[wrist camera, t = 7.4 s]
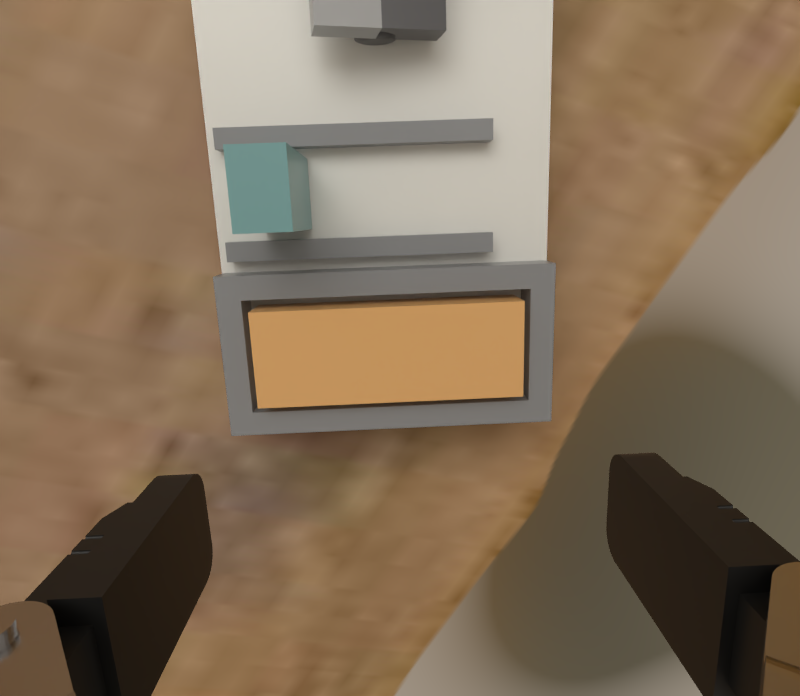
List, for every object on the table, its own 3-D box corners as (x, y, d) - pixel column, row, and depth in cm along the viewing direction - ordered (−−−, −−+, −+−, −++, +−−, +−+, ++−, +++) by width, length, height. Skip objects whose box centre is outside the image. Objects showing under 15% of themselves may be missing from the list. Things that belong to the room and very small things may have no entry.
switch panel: (534, -52, 23) (570, -116, 19) (526, 390, 28) (553, 423, 24) (207, -43, 23) (165, -106, 19) (254, 402, 28) (229, 438, 23)
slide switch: (307, 158, 22) (286, 142, 17) (312, 229, 23) (293, 231, 18) (258, 160, 22) (222, 144, 17) (264, 230, 23) (232, 234, 18)
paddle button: (513, 294, 24) (524, 301, 22) (512, 382, 25) (523, 396, 23) (259, 304, 23) (247, 312, 21) (267, 393, 24) (257, 408, 22)
